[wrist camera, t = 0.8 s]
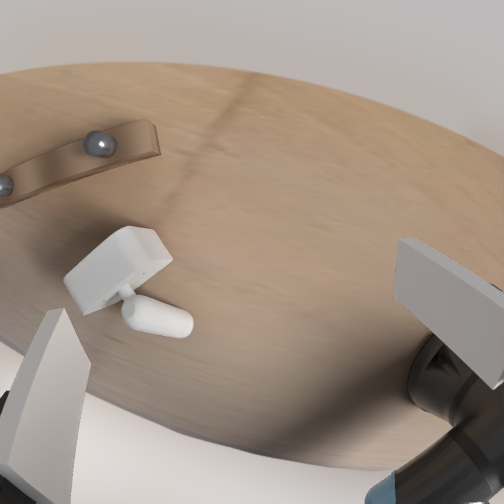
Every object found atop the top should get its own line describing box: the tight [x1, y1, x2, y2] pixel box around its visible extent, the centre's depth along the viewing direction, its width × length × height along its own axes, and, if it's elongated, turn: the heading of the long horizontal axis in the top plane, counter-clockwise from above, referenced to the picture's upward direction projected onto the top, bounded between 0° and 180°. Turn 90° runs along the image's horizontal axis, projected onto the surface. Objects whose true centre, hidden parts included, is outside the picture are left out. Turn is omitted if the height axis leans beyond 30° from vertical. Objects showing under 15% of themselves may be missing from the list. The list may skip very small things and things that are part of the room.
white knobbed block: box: [63, 226, 193, 338], centre depth 27 cm, size 8×10×10 cm
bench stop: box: [0, 118, 161, 209], centre depth 25 cm, size 20×3×7 cm, turn 101°
